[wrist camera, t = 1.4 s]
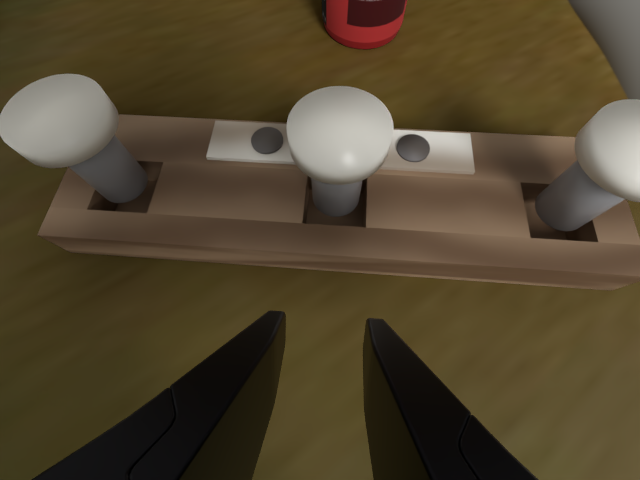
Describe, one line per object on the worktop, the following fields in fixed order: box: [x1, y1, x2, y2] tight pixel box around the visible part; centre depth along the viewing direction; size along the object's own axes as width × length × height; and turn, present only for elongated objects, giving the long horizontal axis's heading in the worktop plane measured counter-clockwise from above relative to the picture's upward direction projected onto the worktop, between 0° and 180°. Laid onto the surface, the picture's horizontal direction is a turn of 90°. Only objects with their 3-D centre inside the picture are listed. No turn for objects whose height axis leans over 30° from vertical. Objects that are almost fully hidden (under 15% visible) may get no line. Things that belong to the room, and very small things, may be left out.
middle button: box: [286, 86, 394, 217], centre depth 19 cm, size 5×5×6 cm
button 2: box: [0, 74, 148, 203], centre depth 19 cm, size 5×5×6 cm
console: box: [37, 114, 640, 290], centre depth 23 cm, size 10×37×4 cm, turn 86°
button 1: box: [535, 99, 640, 231], centre depth 18 cm, size 5×5×6 cm
